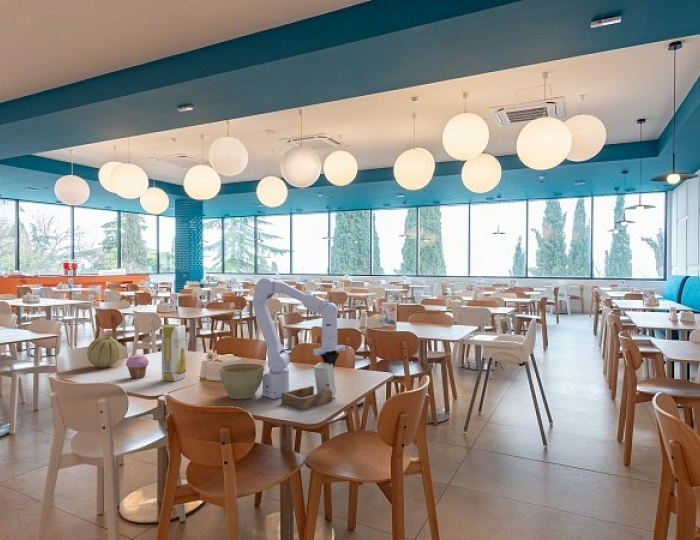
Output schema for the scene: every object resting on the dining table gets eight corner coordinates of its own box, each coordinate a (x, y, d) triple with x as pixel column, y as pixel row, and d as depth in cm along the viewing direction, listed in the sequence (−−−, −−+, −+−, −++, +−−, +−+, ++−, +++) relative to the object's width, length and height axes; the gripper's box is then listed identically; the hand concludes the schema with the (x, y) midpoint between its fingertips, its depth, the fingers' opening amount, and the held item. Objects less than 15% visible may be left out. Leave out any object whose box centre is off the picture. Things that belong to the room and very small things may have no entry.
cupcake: (137, 380, 199) (137, 357, 199) (121, 379, 202) (121, 355, 202) (152, 376, 208) (152, 353, 208) (137, 374, 211) (136, 352, 210)
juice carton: (176, 382, 197) (175, 324, 197) (159, 381, 198) (158, 324, 198) (188, 376, 206) (188, 322, 206) (171, 376, 207) (171, 321, 207)
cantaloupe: (98, 363, 234) (97, 333, 234) (127, 364, 233) (126, 333, 233) (79, 370, 219) (79, 338, 219) (110, 370, 218) (110, 338, 218)
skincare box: (317, 396, 174) (312, 367, 171) (323, 390, 178) (318, 361, 175) (331, 399, 171) (326, 368, 168) (337, 393, 175) (332, 363, 172)
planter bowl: (273, 395, 176) (273, 366, 176) (236, 405, 164) (236, 374, 164) (247, 388, 187) (247, 360, 187) (211, 396, 175) (210, 367, 174)
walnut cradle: (301, 409, 159) (301, 399, 159) (281, 403, 166) (281, 392, 166) (331, 401, 169) (331, 391, 168) (311, 395, 176) (311, 385, 176)
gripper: (322, 338, 167) (322, 377, 167) (351, 334, 177) (351, 370, 178) (309, 336, 172) (309, 373, 172) (338, 332, 182) (338, 367, 182)
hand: (329, 372), depth 175 cm, fingers closed
